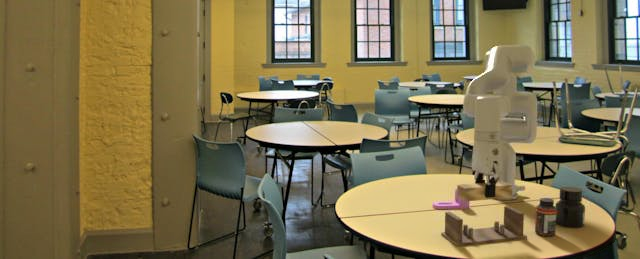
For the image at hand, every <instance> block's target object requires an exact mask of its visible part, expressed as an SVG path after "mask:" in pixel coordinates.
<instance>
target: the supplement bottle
mask: <svg viewBox="0 0 640 259" xmlns="http://www.w3.org/2000/svg"><path fill="white" fill-rule="evenodd" d="M555 206H556V205H555V200H554V199H553V198H549V197H541V198H540V199H539V203H538V204H537V205H536V208H535V221H534V222H535V226H534V232H535V233H536V234H537V235H539V236H541V235H542V237H553V236H555V234H556V228H557V227H556V225H557V223H556V212H557V209H556V207H555Z"/></svg>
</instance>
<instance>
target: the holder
mask: <svg viewBox="0 0 640 259" xmlns="http://www.w3.org/2000/svg"><path fill="white" fill-rule="evenodd" d="M463 220H464V219H463V218H461V217H460V216H458V215H457V214H454V213H453V212H451V211H445V215H444V232H441V233H440V234H441V236H442V237H443V238H445V239H446V240H447V241H449V242H451V243H452V244H453V245H455V247H462V246H470V245H479V244H481V245H482V244H488V243H489V244H490V243H497V242H506V241H507V240H508V241H515V240H514V239H517V240H525V239H524V238H526V239H527V238H528V235H527V234H524V224H525V222H524V220H525V213H524V212H522V211H520V210H518V209H516V208H514V207H511V206H510V205H507V206H506V205H505V206H504V209H503V223H501V224H500V222H499V221H497V220H495V221H493V222H494V224H493V225H494V226H492V227H491V226H490V227H483V228H474V227H469V224H464V221H463ZM508 241H507V242H508Z"/></svg>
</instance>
